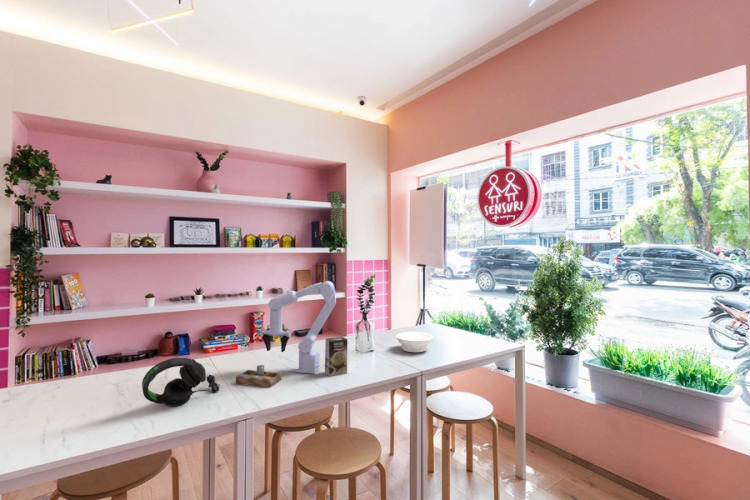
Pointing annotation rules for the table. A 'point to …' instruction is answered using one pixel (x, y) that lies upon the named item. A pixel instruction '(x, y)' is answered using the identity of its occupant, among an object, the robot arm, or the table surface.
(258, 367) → the peg
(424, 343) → the bowl
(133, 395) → the table surface
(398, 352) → the table surface
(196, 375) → the headset
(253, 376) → the socket block
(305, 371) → the robot arm
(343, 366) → the coffee box
